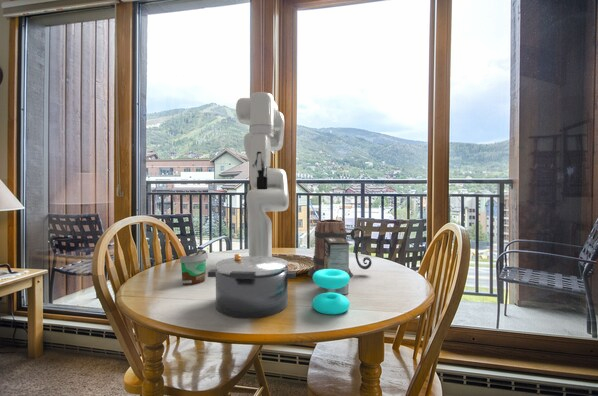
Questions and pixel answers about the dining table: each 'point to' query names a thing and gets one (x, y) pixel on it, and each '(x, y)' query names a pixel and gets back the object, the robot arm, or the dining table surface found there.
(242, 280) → the cooking pot
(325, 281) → the donuts
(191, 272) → the food container
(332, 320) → the dining table surface
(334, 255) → the coffee box
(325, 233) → the tankard
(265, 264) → the pot lid
